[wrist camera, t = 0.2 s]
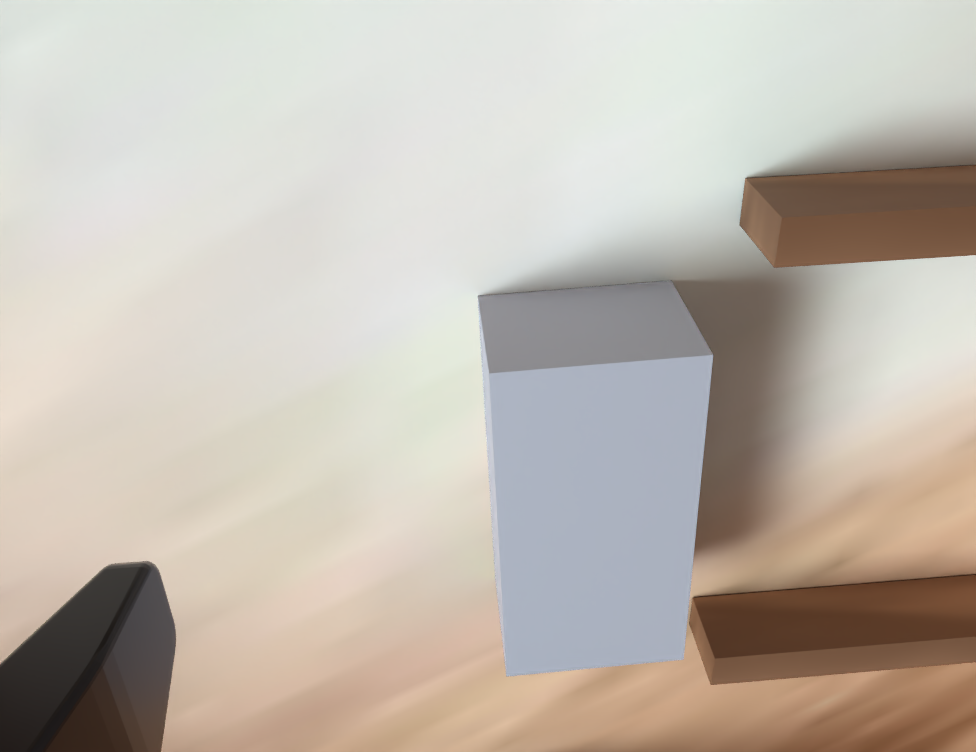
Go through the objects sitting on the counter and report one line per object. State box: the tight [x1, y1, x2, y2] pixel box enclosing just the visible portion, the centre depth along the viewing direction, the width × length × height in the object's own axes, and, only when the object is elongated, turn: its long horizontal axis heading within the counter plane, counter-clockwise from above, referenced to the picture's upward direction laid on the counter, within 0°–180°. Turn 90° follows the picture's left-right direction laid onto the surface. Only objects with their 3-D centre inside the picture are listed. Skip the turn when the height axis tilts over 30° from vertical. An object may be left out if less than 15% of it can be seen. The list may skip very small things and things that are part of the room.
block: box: [478, 280, 713, 676], centre depth 24 cm, size 10×5×4 cm, turn 3°
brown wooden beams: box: [689, 165, 976, 685], centre depth 25 cm, size 15×10×2 cm, turn 2°
